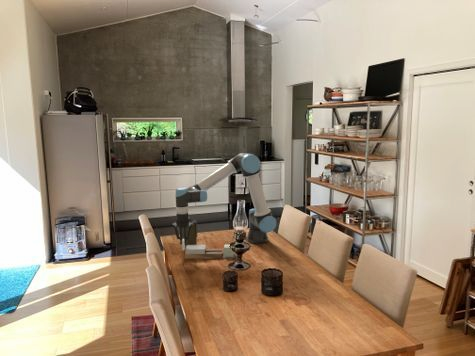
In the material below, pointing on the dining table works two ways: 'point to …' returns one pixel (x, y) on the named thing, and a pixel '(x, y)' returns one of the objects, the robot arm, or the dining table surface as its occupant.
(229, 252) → the stop block
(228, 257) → the pad
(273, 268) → the dining table surface
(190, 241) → the canister
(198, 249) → the slab
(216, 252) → the runners
